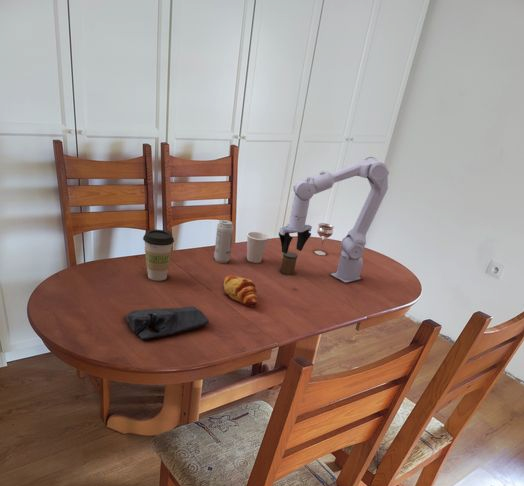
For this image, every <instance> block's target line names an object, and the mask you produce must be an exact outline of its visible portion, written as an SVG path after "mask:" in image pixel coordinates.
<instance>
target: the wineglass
mask: <svg viewBox="0 0 524 486" xmlns="http://www.w3.org/2000/svg"><path fill="white" fill-rule="evenodd" d="M334 228H335V226H334V225H332V224H329V223H326V222H320V223H318V226H317V228H316V232H317V235H318V236H319V237H320V238H321V244H320V250H314V253H315V255H316V254H317V255H318V256H326V254H327V253H326V252H325V251H322V249H323V244H324V241H325V240H326V239H328V238H331V236H332V235H333V234H334Z"/></svg>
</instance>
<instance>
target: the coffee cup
mask: <svg viewBox="0 0 524 486" xmlns="http://www.w3.org/2000/svg"><path fill="white" fill-rule="evenodd" d="M142 240H143V242H144V253H145V254H144V255H145V264H146V269H147V270H146V271H147V277H148V279H149V280H152V281H157V282H158V281H159V282H160V281H165V280H167V278H168V272H169V268H170V264H171V263H170V262H171V256H172V251H173V249H172V248H173V244H174V242H175V239H174V237H173V233H172V232H169V231H167V230H163V229H148V230H147V231H145V233H144V235H143V237H142Z"/></svg>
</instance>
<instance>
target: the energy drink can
mask: <svg viewBox="0 0 524 486" xmlns="http://www.w3.org/2000/svg"><path fill="white" fill-rule="evenodd" d="M233 235H234V225H233V222H232V220H228V219H220V220H219V221H218V224H217V225H216V235H215V243H214V244H215V245H214V255H213V258H214V259H215V260H214V261H216V262H217V263H218V264H219V263H220V264H227V263H228V262H229V261H230V259H231V255H232V254H231V252H232V245H233Z"/></svg>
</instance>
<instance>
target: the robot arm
mask: <svg viewBox="0 0 524 486" xmlns="http://www.w3.org/2000/svg"><path fill="white" fill-rule="evenodd" d="M389 175H390V171H389V170H388V168H387V165H386V164H385V163H384V162H382V161H380V160H378V159H377V158H375V157H374V156H368V157H366V158H361V159H359V160H357V161H355V162H354V163H351V164H349V165H346V166H344V167H342V168H340V169H337V170H336V171H334V172H329V171H324V170H321V171H319V174H315V175H313V176H311V177H310V176H307V177H306V179H303V178H301V179H299V180H297V181H296V182H295V183H294V185H293V191H294V194H293V200H292V206H291V210H290V215H289V222H288V223H287V224H286V225H285V226H283V227H280V228H279V230H278V237H279V240H280V245H281V253H282V254H283V253H285V254H286V253H287V252H289V248H290V245H291V242H292V240H293V239H294V237H293V236H291V234H295V233H296V234H297V235H296V236H297V241H296V250H297V251H299V252H302V250H303V249H304V246H305V245H306V243H307V241H308V240H309V238H310V237H311V236H312V233H311V232H312V228H313V226H312V225H311V224H306V221H307V216H308V212H309V208H310V207H309V206H310V200H311V199H312V198H313V197H314V195H316V194H320V193H323V192H324V191H327V190H330V189H332V188H333V186H334V184H335V183H338V182H341V181H344V180H347V179H351V178H354V177H360V178H364V179H367V181H368V183H369V186H370V191H368V195H367V197H366V199H365V200H364V201H365V202H364V203H363V206H362V207H361V210H360V212H359V214H358V217H357V219H356V220H355V223H354V224H353V227H352V229H350V230H349V231H348V232H347V234H346V235H345V236H344V237H343V238H342V239H341V241H340V247H341V249H342V250H341V252H340V255H339V258H338V259H339V260H338V264H337V268H336V272H332V273H330V275H331V276H332V277H334V278H336V279H338V280H340V281H342V282H343V283H345V284H346V283H351V282H355V281H359V280H361V279H362V277H360V276H361V273H362V268H363V265H364V259H363V257H362V256H363V255H364V254H365V246H366V244H367V233H368V231H369V229H370V227H371V225H372V223H373V221H374V219H375V217H376V214H377V213H378V210H379V208H380V207H381V204H382V202H383V201H384V198H385V196H386V194H387V191H388V188H389V185H388V184H389V180H388V179H389V177H388V176H389Z"/></svg>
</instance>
